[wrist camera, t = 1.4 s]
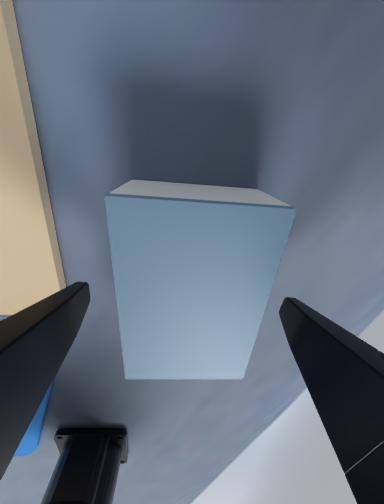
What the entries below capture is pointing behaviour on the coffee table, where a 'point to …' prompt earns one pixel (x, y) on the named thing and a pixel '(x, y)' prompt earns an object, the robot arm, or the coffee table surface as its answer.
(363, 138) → the coffee table surface
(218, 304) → the card box
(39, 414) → the handheld gaming device
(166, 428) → the coffee table surface
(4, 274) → the cork mat
